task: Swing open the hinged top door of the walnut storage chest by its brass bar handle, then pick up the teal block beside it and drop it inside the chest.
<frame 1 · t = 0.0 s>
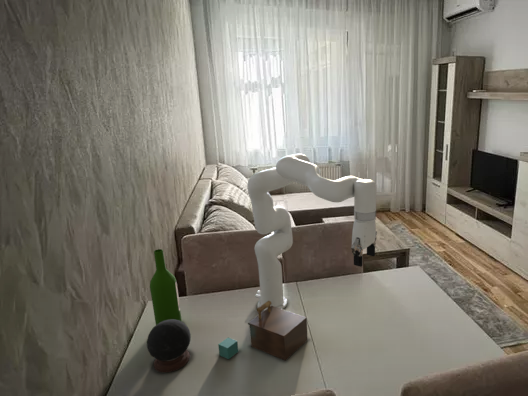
hand: (364, 260, 137), 31 cm above the table, tool pointing down, fingers open, 9 cm apart
ball on stand: (172, 361, 131), on the table
chest lid: (277, 315, 137), point 12 cm above the table, hinge at 0.0°
block: (228, 353, 135), on the table
chest: (279, 343, 140), on the table
wine bottle: (169, 328, 149), on the table
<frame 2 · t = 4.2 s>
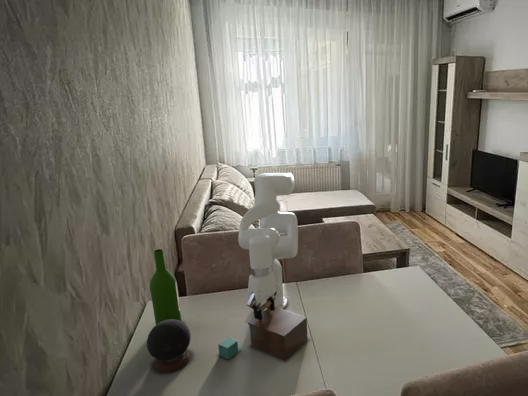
hand: (264, 313, 140), 10 cm above the table, tool pointing down, fingers closed on chest lid, 6 cm apart
chest lid: (277, 315, 137), point 12 cm above the table, hinge at 0.0°, touching gripper
everything else where it was.
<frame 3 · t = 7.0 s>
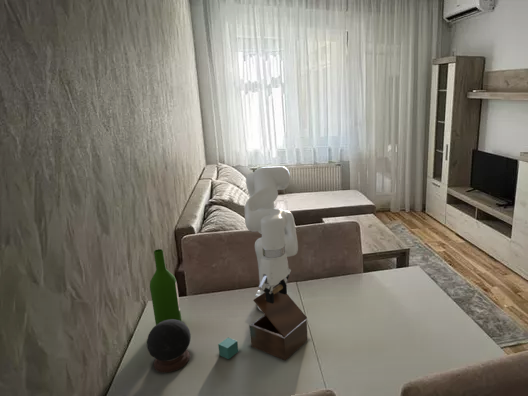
hand: (276, 297, 135), 19 cm above the table, tool pointing down, fingers closed on chest lid, 6 cm apart
chest lid: (283, 305, 135), point 16 cm above the table, hinge at 39.7°, touching gripper
everything else where it was.
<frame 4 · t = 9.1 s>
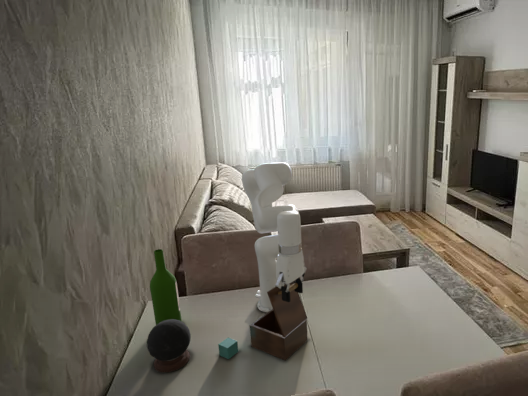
hand: (292, 296, 131), 21 cm above the table, tool pointing down, fingers closed on chest lid, 6 cm apart
chest lid: (292, 305, 132), point 18 cm above the table, hinge at 68.3°, touching gripper
everything else where it was.
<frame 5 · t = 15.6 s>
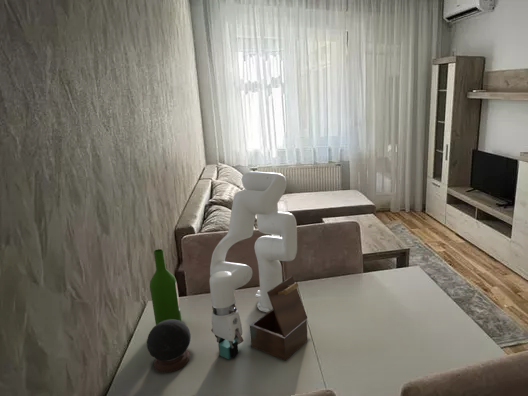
hand: (228, 352, 134), 0 cm above the table, tool pointing down, fingers closed on block, 4 cm apart
chest lid: (292, 305, 132), point 18 cm above the table, hinge at 68.5°
block: (228, 353, 135), on the table, touching gripper
everything else where it was.
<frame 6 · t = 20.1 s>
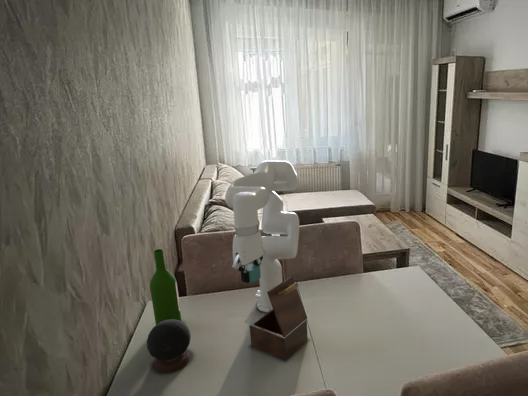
hand: (251, 278, 132), 27 cm above the table, tool pointing down, fingers closed on block, 4 cm apart
block: (251, 279, 132), point 27 cm above the table, touching gripper
everything else where it was.
when the fingers open (8 cm above the table, at t = 24.9 s): block drops 7 cm, resting on chest.
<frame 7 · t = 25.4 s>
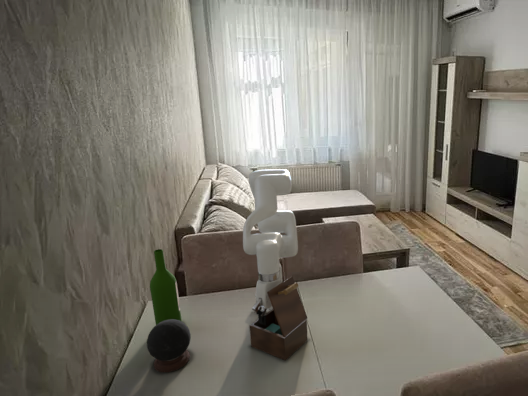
hand: (271, 317, 139), 10 cm above the table, tool pointing down, fingers open, 9 cm apart
block: (273, 338, 141), point 1 cm above the table, touching chest
everything else where it was.
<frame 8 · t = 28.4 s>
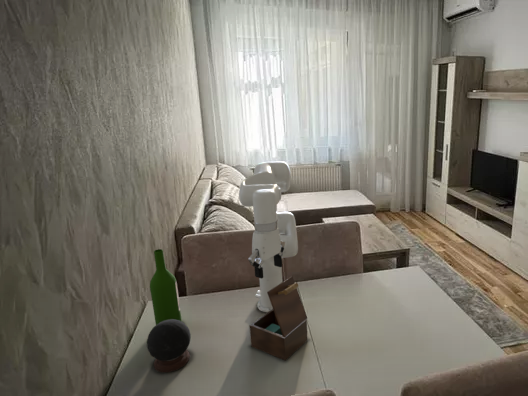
hand: (269, 271, 134), 28 cm above the table, tool pointing down, fingers open, 9 cm apart
nothing on the table moved.
at the end: chest lid at +68° (first picture: +0°); block inside the target area in the chest (3.0 cm from its centre), point 0.9 cm above the chest's base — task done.
